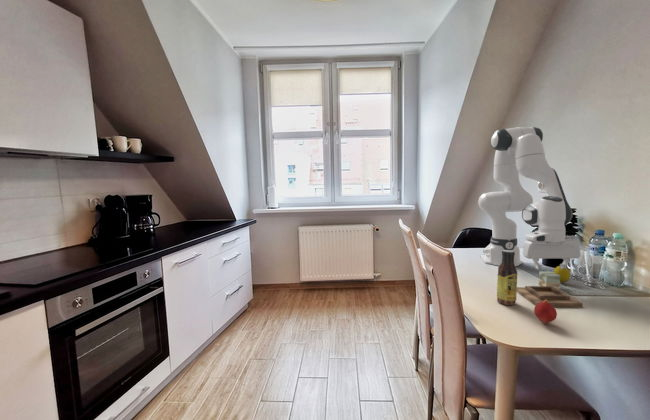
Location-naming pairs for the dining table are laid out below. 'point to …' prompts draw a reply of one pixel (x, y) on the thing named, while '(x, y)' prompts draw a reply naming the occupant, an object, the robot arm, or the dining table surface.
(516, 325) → the dining table surface
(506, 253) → the sauce bottle
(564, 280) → the lemon
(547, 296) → the socket board
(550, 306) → the red bumpy ovoid
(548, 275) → the block
